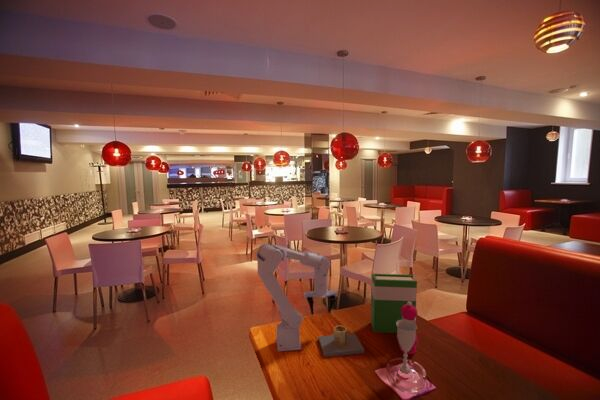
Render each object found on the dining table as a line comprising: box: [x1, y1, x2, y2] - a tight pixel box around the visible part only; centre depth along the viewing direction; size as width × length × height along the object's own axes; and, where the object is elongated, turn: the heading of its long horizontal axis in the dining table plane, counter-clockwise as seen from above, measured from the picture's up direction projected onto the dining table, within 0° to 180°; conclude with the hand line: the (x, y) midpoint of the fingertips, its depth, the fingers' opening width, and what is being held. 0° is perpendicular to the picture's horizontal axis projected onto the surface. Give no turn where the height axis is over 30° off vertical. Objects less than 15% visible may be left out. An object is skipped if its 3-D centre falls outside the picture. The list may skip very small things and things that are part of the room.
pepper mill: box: [398, 301, 419, 355], centre depth 109 cm, size 7×7×20 cm
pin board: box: [317, 332, 365, 358], centre depth 111 cm, size 16×11×6 cm
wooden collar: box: [333, 324, 348, 347], centre depth 111 cm, size 5×5×6 cm
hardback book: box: [370, 273, 418, 334], centre depth 123 cm, size 18×7×24 cm, turn 85°
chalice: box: [396, 319, 418, 374], centre depth 96 cm, size 7×7×18 cm
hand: (320, 312), depth 120 cm, fingers open, 7 cm apart
